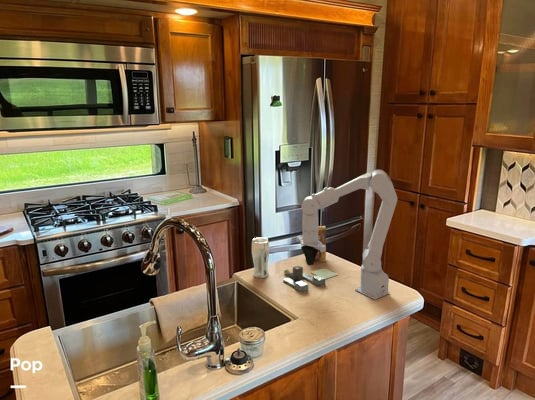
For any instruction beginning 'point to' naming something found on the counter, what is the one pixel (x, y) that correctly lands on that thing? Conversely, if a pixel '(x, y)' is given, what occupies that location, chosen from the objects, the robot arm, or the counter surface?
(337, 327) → the counter surface
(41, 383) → the counter surface
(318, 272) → the plate
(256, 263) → the beer glass
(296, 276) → the grey tapered rounded piece
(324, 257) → the candy box
